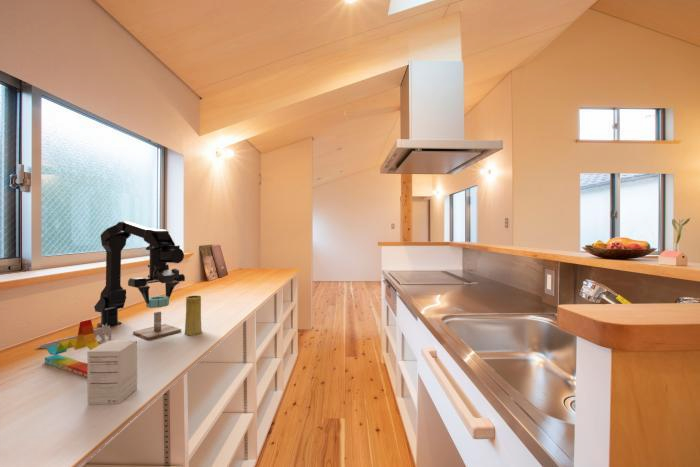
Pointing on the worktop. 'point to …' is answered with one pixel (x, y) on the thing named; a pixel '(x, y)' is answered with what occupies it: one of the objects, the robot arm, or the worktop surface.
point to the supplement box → (111, 372)
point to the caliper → (96, 331)
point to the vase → (193, 315)
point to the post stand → (156, 329)
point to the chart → (82, 340)
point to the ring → (158, 302)
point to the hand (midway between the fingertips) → (157, 301)
